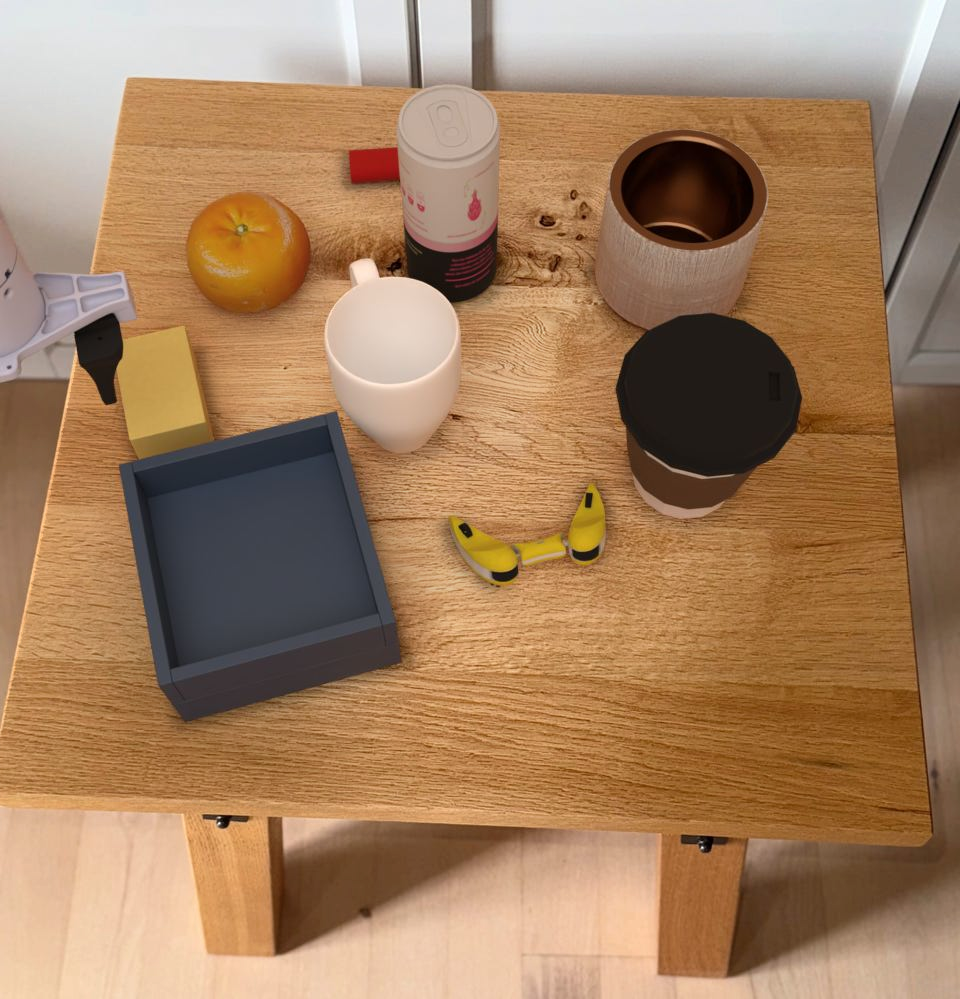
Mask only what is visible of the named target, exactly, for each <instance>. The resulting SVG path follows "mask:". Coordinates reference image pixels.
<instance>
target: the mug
mask: <svg viewBox="0 0 960 999" xmlns="http://www.w3.org/2000/svg"><path fill="white" fill-rule="evenodd" d="M348 270H349V271H348V272H349V279H350V284H351V289H349V290H348V291H346V292H345V293H344V294H343V295H342V296H341V297H340V298H338V300H337V301H336V302H335V303H334V305H333V306H332V308H331V310H330V311H329V313H328V315H327V318H326V321H325V324H324V331H323V344H324V351H325V358H326V363H327V368H328V372H329V377H330V378H329V379H330V382H331V386H332V390H333V391H334V394H335V397H336V400H337V402H338V404H339V405H340V408H341V409H342V411H343V412H344V413H345V415H346V416H347V417H348V419H349V420H350V421H351V422H352V423H353V425H355V426H356V428H358V429H359V430H360V431H361V432H362V433H363V434H364V435H366V436H367V437H368V438H370V439H371V440H372V441H373V442H374V443H376V444H377V445H378V446H379V447H380V448H382V449H384V450H385V451H388V452H390V453H395V454H408V453H412V452H415V451H417V450H419V449H421V448H422V447H423V446H424V445H426V444H427V443H428V442H429V440H430V439H431V438H432V437H433V435H434V434H435V433H436V431H437V430H438V428H439V427H440V426H441V425H442V424H443V422H444V421H445V420H446V418H447V417H448V415H449V413H450V412H451V410H452V408H453V406H454V404H455V402H456V400H457V397H458V394H459V391H460V385H461V380H462V331H461V325H460V320H459V317H458V314H457V312H456V311H455V310H456V309H455V308H454V307H453V305H452V303H450V302H449V301H448V300H447V299H446V297H445V296H444V295H443V294H441V293H440V292H439V291H438V290H436V289H435V288H433V287H432V286H430V285H428V284H426V283H424V282H421V281H418V280H415V279H411V278H409V277H404V276H382V277H381V276H380V273H379V270H378V267H377V265H376V263H375V260H374V259H372V258H368V257H366V258H360V259H357V260H354V261H352V262H351V263H350V264H349V266H348Z"/></svg>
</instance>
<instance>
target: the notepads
mask: <svg viewBox="0 0 960 999" xmlns="http://www.w3.org/2000/svg"><path fill="white" fill-rule="evenodd" d="M122 339H123V358H122V359H121V360H120V362H119V364H118V366H117V368H116V376H117V381H118V386H119V391H120V396H121V401H122V402H121V403H122V407H123V413H124V418H125V424H126V429H127V434H128V440H129V442H130V444H131V446H132V448H133V450H134V452H135V454H136V456H137V458H138V460H139V459H143V458H147V457H151V456H155V455H159V454H163V453H167V452H172V451H176V450H180V449H184V448H188V447H192V446H196V445H200V444H204V443H208V442H212V441H215V438H214V433H213V429H212V424H211V419H210V416H209V411H208V406H207V401H206V398H205V397H206V396H205V391H204V389H203V384H202V380H201V375H200V370H199V366H198V360H197V356H196V353H195V350H194V347H193V345H192V342H191V338H190V336H189V333H188V331H187V328H186V326H185V325H180V326H175V327H170V328H167V329H162V330H157V331H154V332H150V333H145V334H141V335H136V336H132V337H128V338H122Z"/></svg>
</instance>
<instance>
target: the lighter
mask: <svg viewBox="0 0 960 999" xmlns="http://www.w3.org/2000/svg"><path fill="white" fill-rule="evenodd" d="M348 157H349V158H348V159H349V175H350V183H351V184H356V183H357V184H358V183H371V182H387V181H388V182H389V181H400V172H399V160H398V147H380V148H366V149H365V148H364V149H349V150H348Z"/></svg>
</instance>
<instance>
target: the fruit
mask: <svg viewBox="0 0 960 999" xmlns="http://www.w3.org/2000/svg"><path fill="white" fill-rule="evenodd" d="M311 247H312V246H311V239H310V236H309V234H308V230H307V228H306V226H305V224H304V223H303V221H302V219H301V218H300V217H299V216H298V215H297V214H296V212H294V211H293V210H292V209H291V208H290V207H288V206H287V205H286V204H284V203H283V202H282V201H281V200H279V199H278V198H276V197H274V196H271V195H269V194H268V193H267V194H266V193H263V192H258V191H251V190H243V191H236V192H232V193H229V194H226V195H224V196H221V197H219V198H218V199H216V200H214V201H213V202H211V203H210V204H208V205H207V206H206V207H204V208H203V209H201V211H199V213H197V215H196V216H195V218H194V219H193V220H192V223H191V225H190V228H189V231H188V233H187V237H186V245H185V257H186V258H185V259H186V264H187V269H188V271H189V273H190V276H191V278H192V281H193V282H194V284H195V286H196V287H197V289H198V291H199V292H200V293H201V294H202V295H203V297H205V298H206V299H207V300H208V301H210V302H211V303H213V304H214V305H216V306H218V307H220V308H223V309H225V310H228V311H232V312H233V313H243V314H245V313H247V314H249V313H253V312H254V313H255V312H262V311H267V310H270V309H274V308H275V307H278V306H280V305H282V303H284V302H285V301H287V300H289V299H290V298H291V297H293V296H294V295H295V294H296V293H297V292H298V291H299V290H300V289H301V287H302V286H303V284H304V282H305V280H306V277H307V273H308V270H309V266H310V260H311V252H312V249H311Z"/></svg>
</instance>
